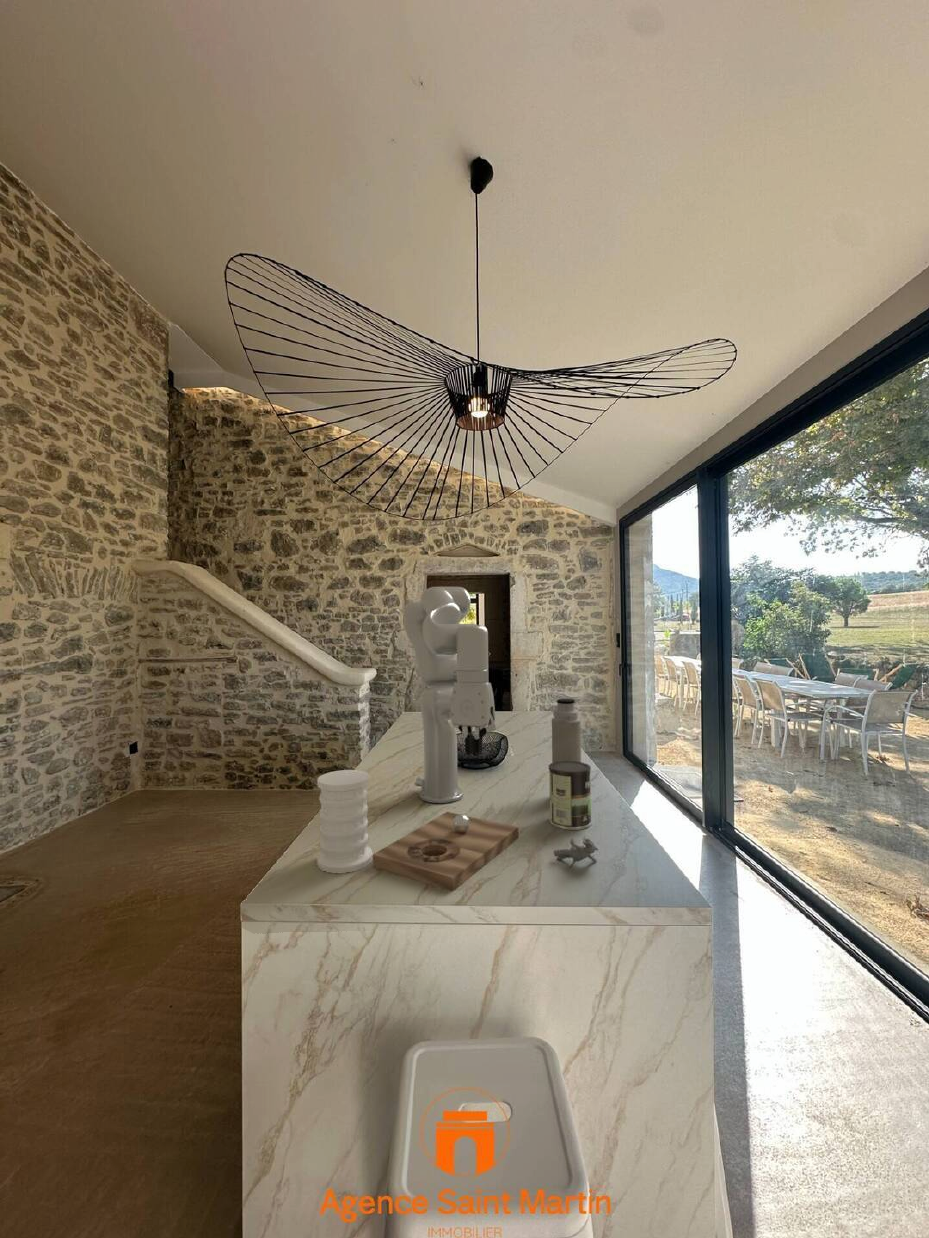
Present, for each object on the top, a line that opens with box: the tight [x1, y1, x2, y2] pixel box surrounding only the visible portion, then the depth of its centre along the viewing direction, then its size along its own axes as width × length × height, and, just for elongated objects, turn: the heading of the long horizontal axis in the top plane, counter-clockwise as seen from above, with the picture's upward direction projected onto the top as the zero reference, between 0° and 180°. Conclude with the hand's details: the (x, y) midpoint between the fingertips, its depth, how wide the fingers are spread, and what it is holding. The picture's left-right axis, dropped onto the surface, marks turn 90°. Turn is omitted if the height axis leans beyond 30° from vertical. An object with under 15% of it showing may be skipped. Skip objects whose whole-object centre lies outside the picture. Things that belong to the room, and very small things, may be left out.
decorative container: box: [316, 769, 373, 874], centre depth 116 cm, size 12×12×18 cm
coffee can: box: [548, 761, 592, 831], centre depth 135 cm, size 10×10×14 cm
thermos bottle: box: [551, 698, 582, 763], centre depth 153 cm, size 8×8×28 cm
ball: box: [453, 813, 470, 833], centre depth 124 cm, size 4×4×4 cm
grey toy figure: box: [553, 836, 599, 869], centre depth 113 cm, size 10×6×9 cm
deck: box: [372, 811, 519, 892], centre depth 120 cm, size 28×20×2 cm
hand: (473, 753), depth 129 cm, fingers closed
